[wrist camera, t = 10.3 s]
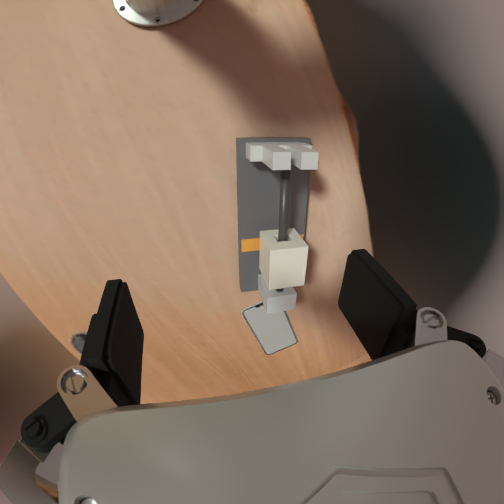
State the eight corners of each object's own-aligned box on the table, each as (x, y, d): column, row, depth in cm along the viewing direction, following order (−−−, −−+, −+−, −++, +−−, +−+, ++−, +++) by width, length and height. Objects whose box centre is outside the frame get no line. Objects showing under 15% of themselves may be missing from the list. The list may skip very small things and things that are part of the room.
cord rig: (236, 138, 36) (250, 147, 28) (306, 137, 37) (338, 148, 29) (239, 286, 48) (251, 325, 39) (296, 279, 49) (316, 314, 41)
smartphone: (266, 356, 58) (240, 311, 50) (265, 353, 58) (239, 309, 50) (298, 342, 58) (278, 295, 50) (297, 340, 58) (277, 292, 50)
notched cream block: (259, 230, 39) (270, 250, 35) (294, 228, 40) (308, 246, 35) (259, 267, 42) (268, 290, 38) (291, 264, 43) (304, 285, 38)
